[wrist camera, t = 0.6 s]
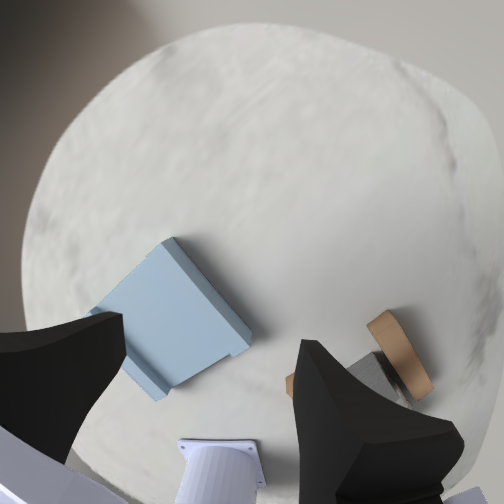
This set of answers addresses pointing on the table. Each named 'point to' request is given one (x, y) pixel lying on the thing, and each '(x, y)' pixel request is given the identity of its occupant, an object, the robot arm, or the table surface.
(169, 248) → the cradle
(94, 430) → the table surface
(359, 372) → the silver boxy piece
